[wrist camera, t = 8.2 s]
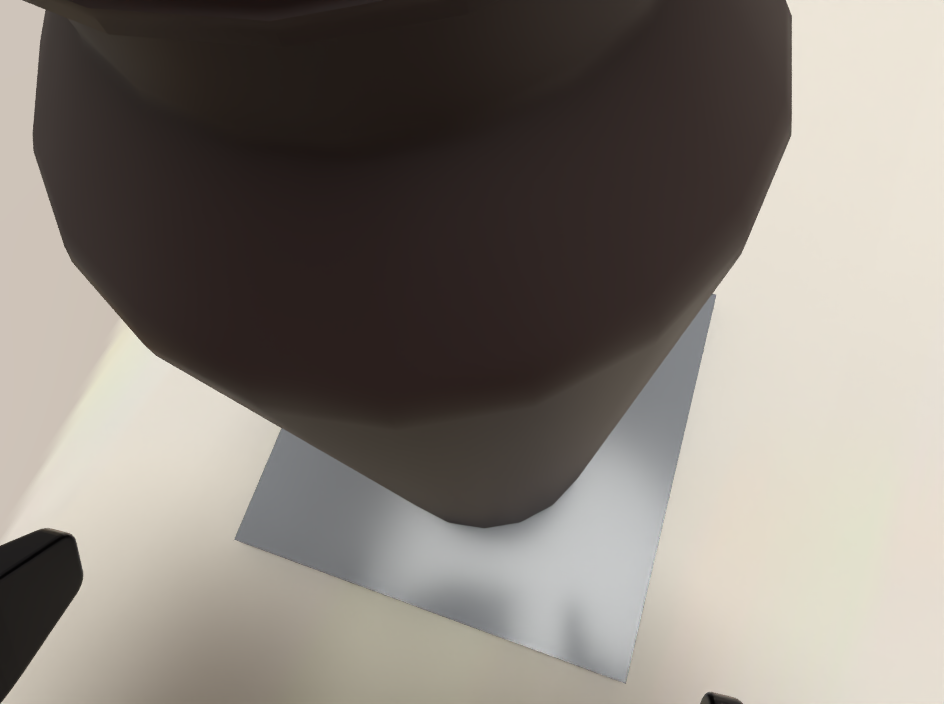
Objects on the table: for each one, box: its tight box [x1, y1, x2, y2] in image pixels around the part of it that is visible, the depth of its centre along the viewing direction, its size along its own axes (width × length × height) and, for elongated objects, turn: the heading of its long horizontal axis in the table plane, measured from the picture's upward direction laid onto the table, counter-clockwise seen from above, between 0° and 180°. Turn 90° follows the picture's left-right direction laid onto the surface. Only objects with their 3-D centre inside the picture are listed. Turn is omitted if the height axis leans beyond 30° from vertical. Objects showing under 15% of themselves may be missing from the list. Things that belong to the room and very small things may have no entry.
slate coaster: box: [234, 294, 716, 684], centre depth 20 cm, size 12×12×1 cm
